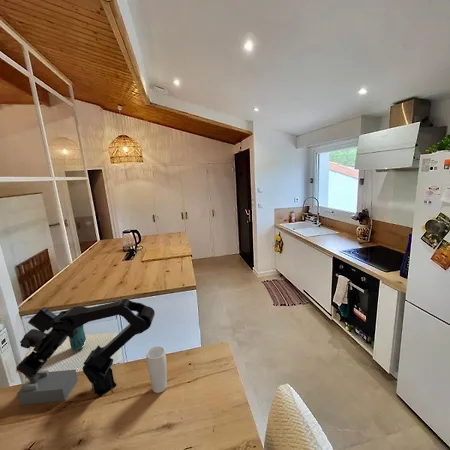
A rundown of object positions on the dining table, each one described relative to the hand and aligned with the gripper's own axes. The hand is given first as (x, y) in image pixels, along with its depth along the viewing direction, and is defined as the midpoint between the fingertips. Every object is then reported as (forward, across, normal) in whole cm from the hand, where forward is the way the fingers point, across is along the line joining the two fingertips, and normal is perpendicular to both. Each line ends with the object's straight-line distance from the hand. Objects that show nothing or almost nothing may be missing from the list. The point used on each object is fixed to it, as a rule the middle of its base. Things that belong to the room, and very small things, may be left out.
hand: (30, 366), depth 91 cm
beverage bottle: (+6, -24, +11) cm, 27 cm away
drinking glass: (-24, +3, +41) cm, 47 cm away
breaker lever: (+4, 0, +4) cm, 5 cm away
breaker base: (+5, 0, +11) cm, 12 cm away
